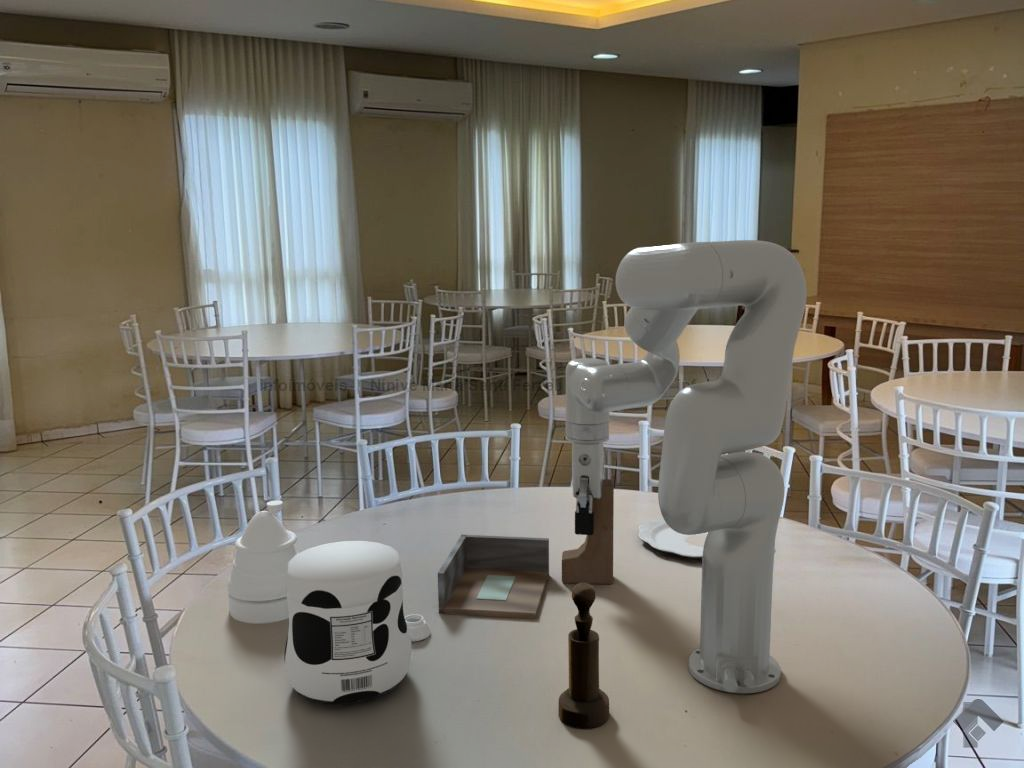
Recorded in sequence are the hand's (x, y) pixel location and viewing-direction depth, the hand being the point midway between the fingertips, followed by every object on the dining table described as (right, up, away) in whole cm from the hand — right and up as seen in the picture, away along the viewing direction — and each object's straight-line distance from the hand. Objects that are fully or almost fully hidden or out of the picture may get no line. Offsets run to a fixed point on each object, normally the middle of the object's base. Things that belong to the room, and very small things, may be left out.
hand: (586, 524), depth 156 cm
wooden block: (0, -10, +2) cm, 10 cm away
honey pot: (-54, -13, -7) cm, 56 cm away
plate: (+25, -7, +20) cm, 32 cm away
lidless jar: (-28, -15, -19) cm, 37 cm away
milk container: (-36, -17, -32) cm, 51 cm away
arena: (-16, -11, -4) cm, 20 cm away
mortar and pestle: (-4, -18, -42) cm, 46 cm away
